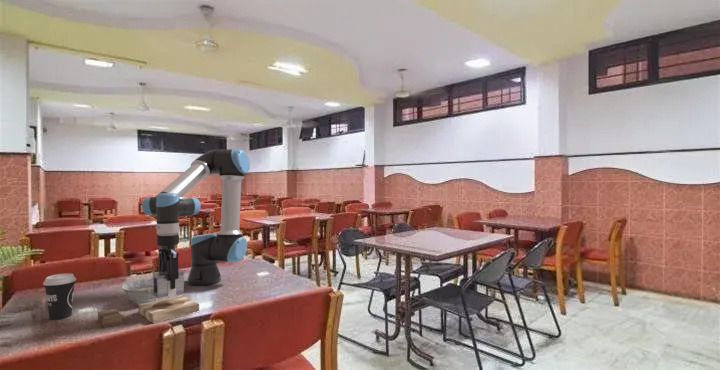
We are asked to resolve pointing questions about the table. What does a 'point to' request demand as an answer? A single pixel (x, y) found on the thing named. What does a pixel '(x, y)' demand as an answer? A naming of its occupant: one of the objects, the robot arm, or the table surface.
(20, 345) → the table surface
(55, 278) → the coffee cup
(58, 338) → the table surface
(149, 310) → the plate
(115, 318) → the stand
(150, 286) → the bowl
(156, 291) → the housing
